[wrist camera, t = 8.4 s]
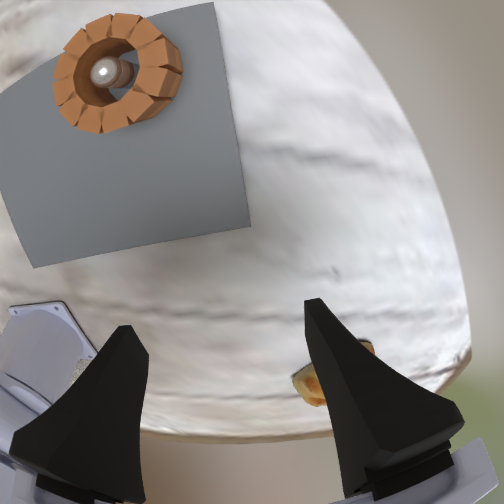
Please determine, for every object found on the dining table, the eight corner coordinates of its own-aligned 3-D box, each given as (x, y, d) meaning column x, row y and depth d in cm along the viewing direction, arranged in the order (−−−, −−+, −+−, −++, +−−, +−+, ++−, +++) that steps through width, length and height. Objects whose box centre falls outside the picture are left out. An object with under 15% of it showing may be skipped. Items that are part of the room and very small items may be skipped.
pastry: (350, 327, 26) (363, 356, 23) (381, 346, 28) (394, 371, 25) (285, 376, 29) (291, 404, 26) (323, 388, 32) (330, 413, 29)
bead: (99, 134, 13) (66, 148, 10) (84, 52, 11) (47, 45, 7) (190, 108, 13) (177, 111, 10) (174, 19, 11) (158, -3, 7)
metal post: (123, 92, 12) (87, 93, 9) (119, 69, 12) (82, 62, 8) (147, 84, 12) (118, 80, 9) (143, 60, 12) (113, 49, 8)
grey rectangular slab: (41, 258, 19) (33, 268, 18) (-7, 106, 12) (-19, 109, 10) (249, 216, 19) (250, 226, 17) (214, 9, 11) (213, 1, 10)
